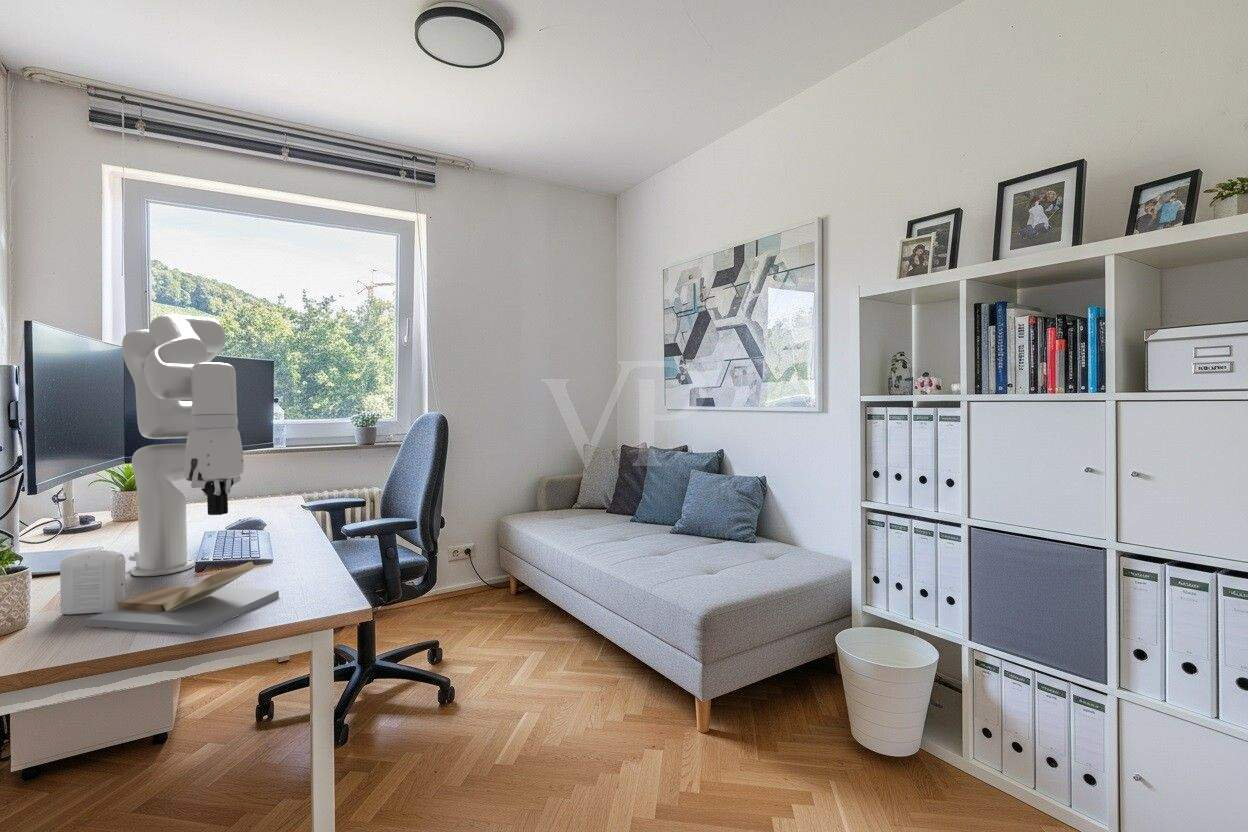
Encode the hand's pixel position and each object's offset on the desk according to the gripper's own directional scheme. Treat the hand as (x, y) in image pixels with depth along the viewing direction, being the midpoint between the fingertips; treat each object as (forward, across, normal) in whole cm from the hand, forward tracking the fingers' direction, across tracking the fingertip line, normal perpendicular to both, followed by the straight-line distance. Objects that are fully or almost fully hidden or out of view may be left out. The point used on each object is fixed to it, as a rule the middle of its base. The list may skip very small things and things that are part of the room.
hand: (217, 514), depth 117 cm
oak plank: (+15, +1, -1) cm, 15 cm away
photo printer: (+19, +4, -25) cm, 32 cm away
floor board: (+20, +1, -6) cm, 20 cm away
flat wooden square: (+18, +1, -12) cm, 22 cm away
